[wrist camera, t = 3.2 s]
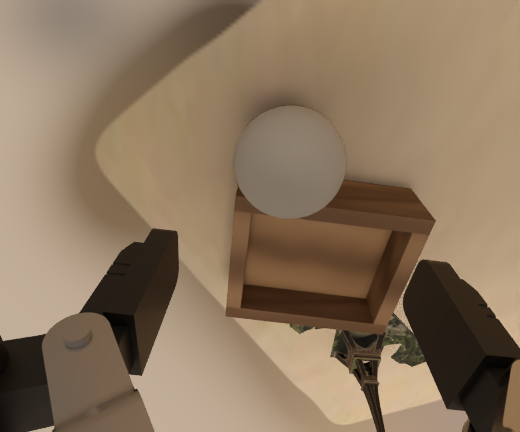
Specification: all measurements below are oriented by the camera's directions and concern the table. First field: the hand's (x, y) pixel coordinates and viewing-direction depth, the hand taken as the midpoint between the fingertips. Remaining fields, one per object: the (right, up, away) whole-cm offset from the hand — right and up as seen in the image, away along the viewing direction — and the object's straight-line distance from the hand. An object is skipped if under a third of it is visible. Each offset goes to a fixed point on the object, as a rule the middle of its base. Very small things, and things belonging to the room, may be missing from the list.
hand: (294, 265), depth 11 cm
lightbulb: (+1, +9, +14) cm, 17 cm away
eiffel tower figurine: (+11, -12, +27) cm, 31 cm away
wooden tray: (+4, 0, +19) cm, 19 cm away
